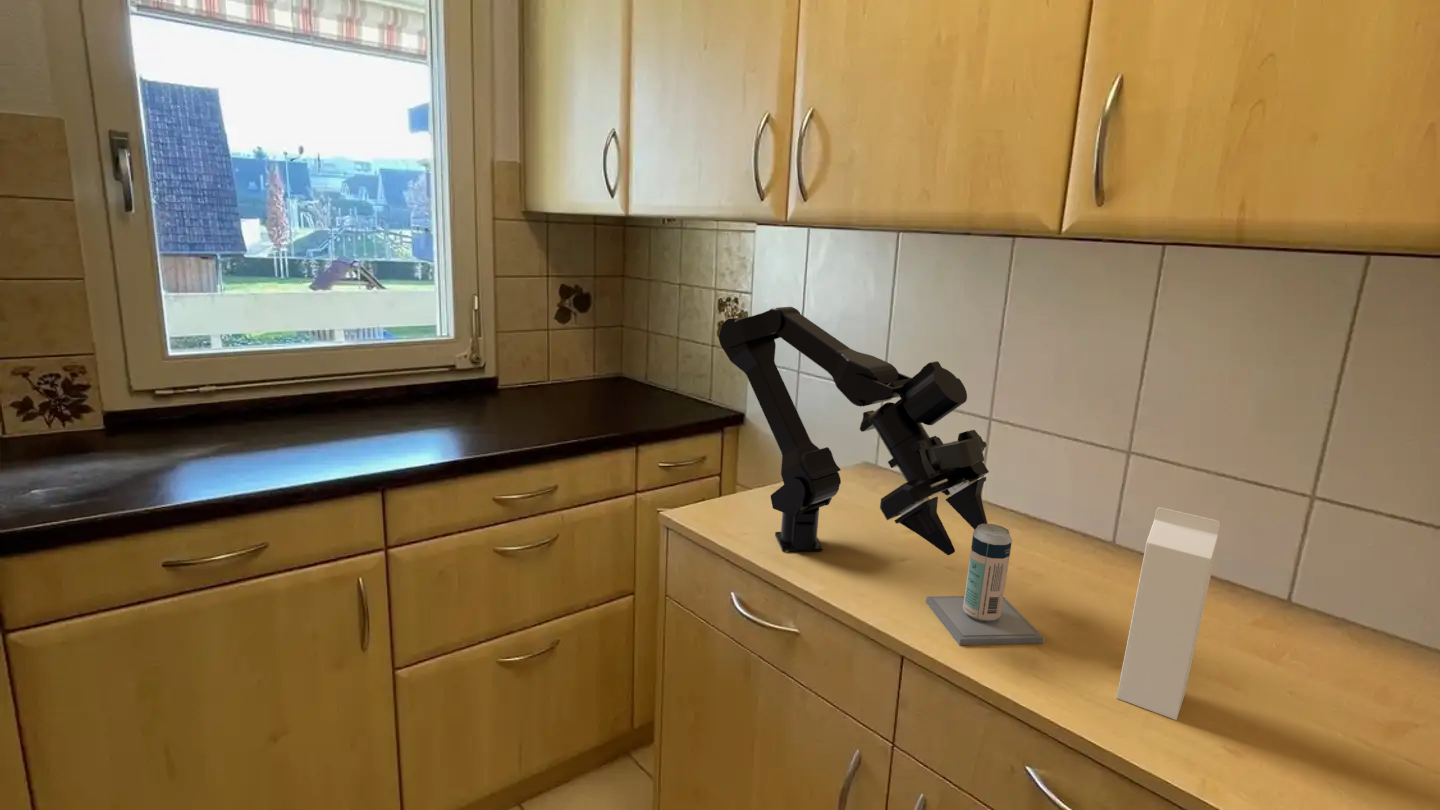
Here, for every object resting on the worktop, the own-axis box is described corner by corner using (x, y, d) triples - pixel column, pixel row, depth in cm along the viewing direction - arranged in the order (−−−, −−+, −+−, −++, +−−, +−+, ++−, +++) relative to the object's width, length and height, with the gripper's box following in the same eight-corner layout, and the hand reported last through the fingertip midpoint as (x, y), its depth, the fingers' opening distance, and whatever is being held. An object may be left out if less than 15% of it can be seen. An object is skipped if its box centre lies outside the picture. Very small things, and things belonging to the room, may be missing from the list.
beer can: (1003, 612, 103) (1016, 528, 100) (995, 627, 99) (1008, 540, 96) (967, 602, 105) (979, 519, 102) (957, 616, 101) (969, 530, 98)
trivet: (925, 601, 106) (926, 595, 106) (1001, 600, 108) (1002, 594, 108) (959, 645, 96) (960, 638, 96) (1042, 643, 97) (1043, 636, 97)
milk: (1126, 676, 91) (1160, 498, 86) (1185, 696, 88) (1224, 513, 82) (1115, 699, 86) (1150, 513, 81) (1177, 722, 83) (1218, 529, 78)
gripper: (911, 422, 95) (981, 537, 90) (985, 402, 107) (1050, 501, 103) (852, 465, 102) (914, 573, 97) (928, 442, 115) (986, 536, 110)
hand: (969, 544), depth 102 cm, fingers open, 9 cm apart
